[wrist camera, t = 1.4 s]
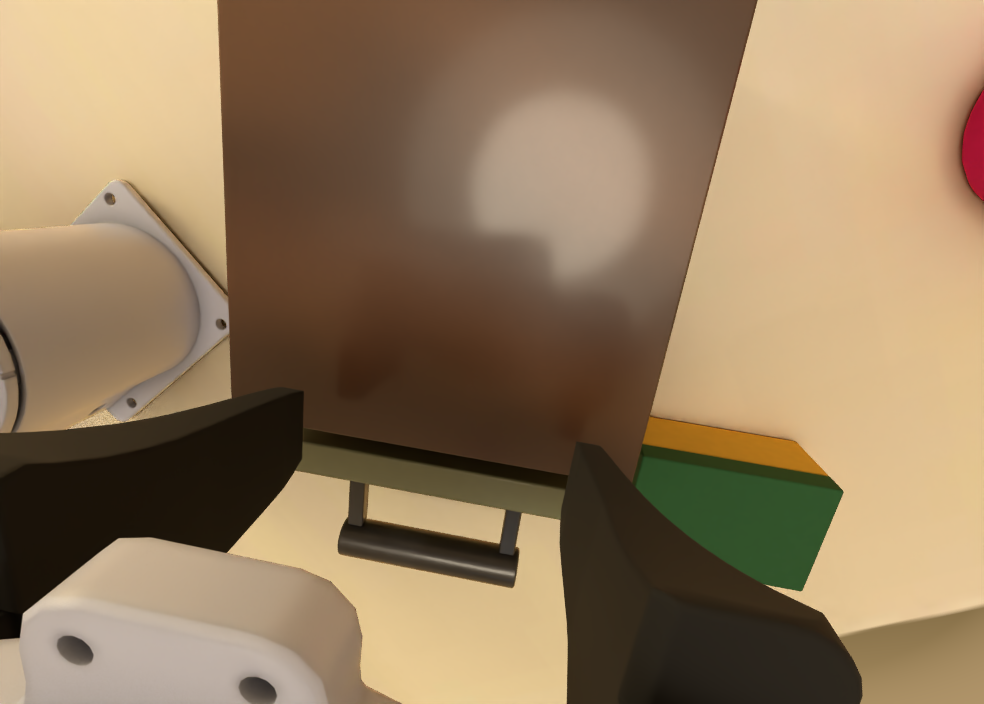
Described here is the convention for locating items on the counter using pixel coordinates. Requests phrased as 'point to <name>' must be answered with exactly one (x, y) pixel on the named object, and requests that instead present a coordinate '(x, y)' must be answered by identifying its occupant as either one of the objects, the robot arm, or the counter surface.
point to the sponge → (740, 497)
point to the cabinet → (469, 211)
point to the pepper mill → (975, 148)
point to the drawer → (439, 479)
